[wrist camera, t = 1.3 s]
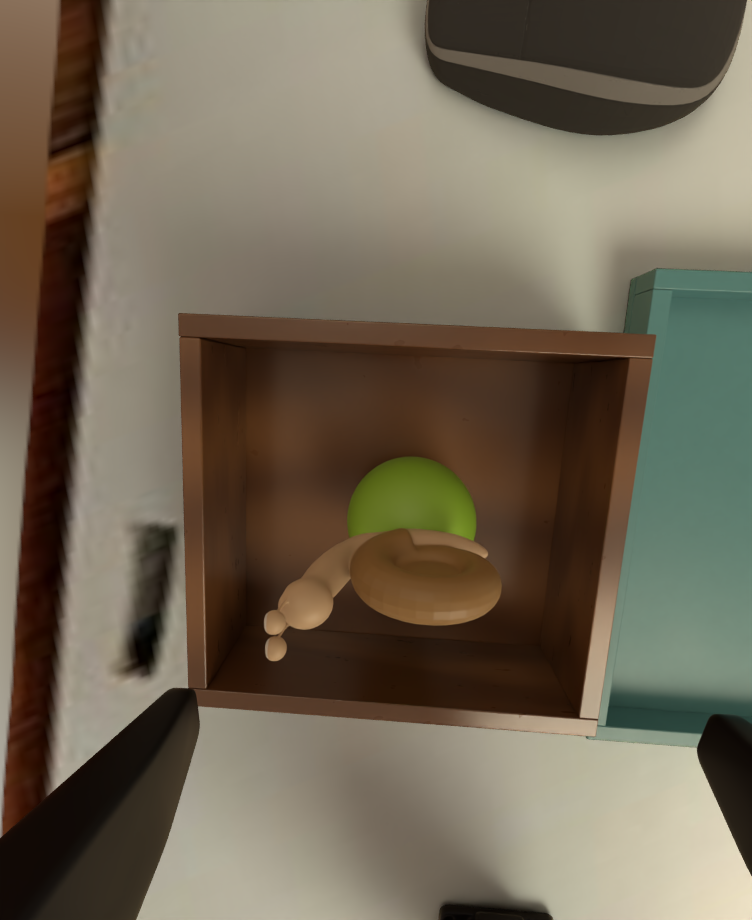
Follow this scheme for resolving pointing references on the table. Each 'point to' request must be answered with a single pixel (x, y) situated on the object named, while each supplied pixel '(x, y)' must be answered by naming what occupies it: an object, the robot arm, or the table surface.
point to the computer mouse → (585, 58)
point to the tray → (687, 517)
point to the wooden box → (385, 438)
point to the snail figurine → (398, 555)
